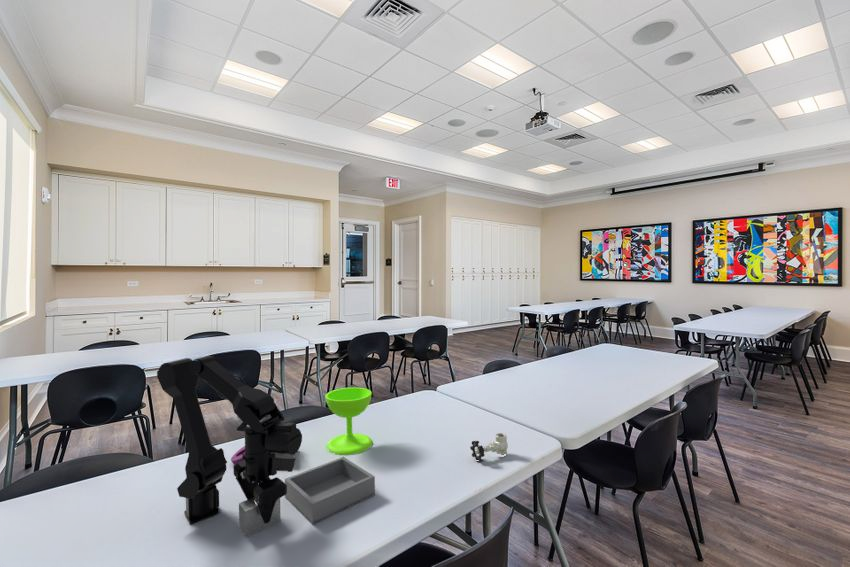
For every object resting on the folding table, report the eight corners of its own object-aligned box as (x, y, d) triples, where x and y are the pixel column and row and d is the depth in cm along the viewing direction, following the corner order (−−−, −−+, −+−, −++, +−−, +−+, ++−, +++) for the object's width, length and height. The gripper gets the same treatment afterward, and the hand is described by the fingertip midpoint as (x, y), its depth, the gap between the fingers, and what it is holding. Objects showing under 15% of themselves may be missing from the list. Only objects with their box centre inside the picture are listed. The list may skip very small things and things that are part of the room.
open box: (312, 524, 91) (312, 504, 91) (285, 497, 102) (284, 479, 102) (374, 494, 103) (374, 476, 103) (343, 473, 115) (343, 456, 115)
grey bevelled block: (245, 537, 87) (245, 511, 87) (239, 528, 90) (238, 503, 90) (280, 522, 92) (280, 497, 92) (273, 513, 96) (272, 490, 95)
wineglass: (352, 459, 124) (351, 403, 123) (316, 449, 131) (315, 397, 131) (381, 440, 138) (380, 390, 137) (347, 432, 145) (346, 385, 145)
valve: (500, 449, 129) (470, 457, 124) (499, 430, 129) (470, 437, 123) (512, 457, 123) (482, 466, 118) (512, 437, 123) (481, 445, 118)
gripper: (307, 450, 90) (309, 516, 90) (276, 428, 103) (277, 485, 103) (259, 467, 82) (260, 539, 82) (232, 441, 96) (233, 502, 96)
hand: (259, 513), depth 91 cm, fingers open, 9 cm apart
